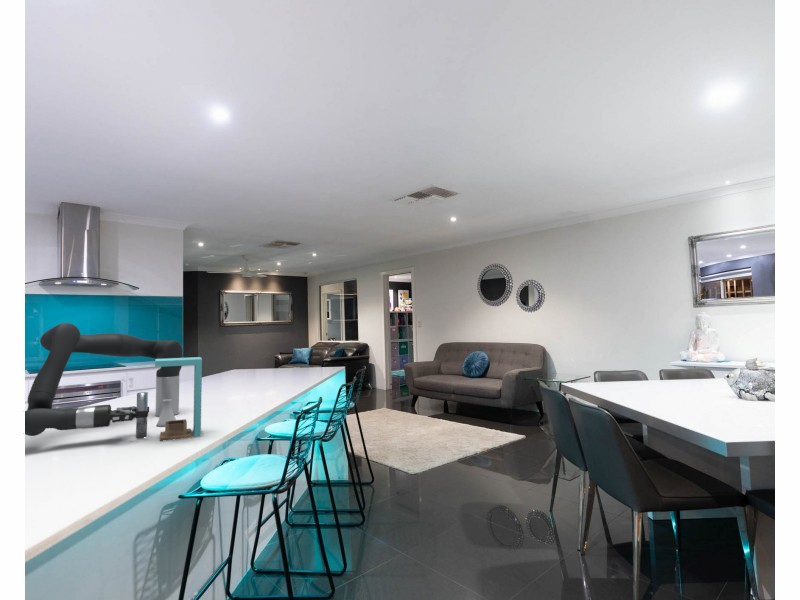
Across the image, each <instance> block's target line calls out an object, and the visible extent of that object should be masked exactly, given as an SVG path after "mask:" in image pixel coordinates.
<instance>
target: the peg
mask: <svg viewBox="0 0 800 600" xmlns="http://www.w3.org/2000/svg"><path fill="white" fill-rule="evenodd" d="M148 395H149V392H147V391H144V392H143V391H141V392H136V407H137V412H138V411H147V408H148V407H149V405H148V403H149V402H148V401H149V397H148ZM135 420H136V421H135V423H136V424H135V425H136V426H135V427H136V428H135V439H136V438H142V439H145V438H144V437H146V438H148V417H144V418H135Z"/></svg>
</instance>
